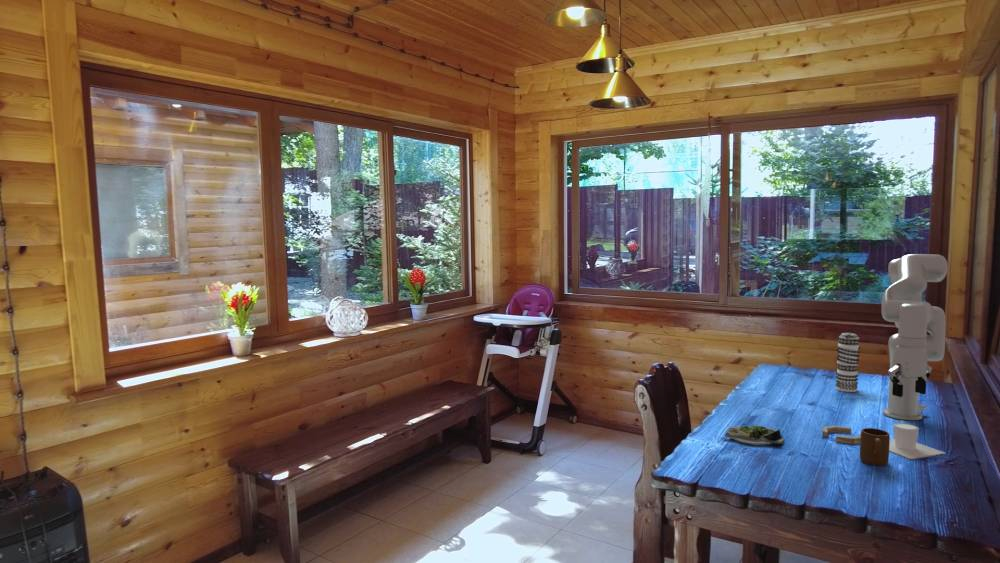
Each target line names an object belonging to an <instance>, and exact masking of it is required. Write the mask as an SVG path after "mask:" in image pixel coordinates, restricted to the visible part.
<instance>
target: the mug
mask: <svg viewBox="0 0 1000 563" xmlns="http://www.w3.org/2000/svg"><path fill="white" fill-rule="evenodd" d="M860 432H861V439H860V443H859V445H860V446H859V459H860V461H862V462H863V463H864V464H868V465H871V466H878V467H881V466H886V465H888V464H889V459H890V458H889V457H890V452H889V444H890V433H889V432H888V431H886V430H882V429H878V428H873V427H871V428H870V427H867V428H862V429H861V431H860Z"/></svg>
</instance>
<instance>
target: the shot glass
mask: <svg viewBox="0 0 1000 563" xmlns="http://www.w3.org/2000/svg"><path fill="white" fill-rule="evenodd" d="M919 429H920V428H919V427H918V426H917V425H914V424H909V423H901V422H900V423H894V424H893V436H894V438H893V439H895V446H896V447H897V448H900V449H903V450H915V449H916V444H917V443H918V438H919V437H918V436H919V431H920V430H919Z"/></svg>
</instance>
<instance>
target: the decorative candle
mask: <svg viewBox="0 0 1000 563" xmlns="http://www.w3.org/2000/svg"><path fill="white" fill-rule="evenodd" d="M859 339H860V337H859V336H858V335H857V334H856V333H851V332H842V333H841V334H840V335H839V336H838V344H837V345H836V352H837V353H836V360H837V361H836V363H837V371H836V374H835V375H836V376H835V377H836V380H835V386H836V387H835V389H836V390H838V391H840V392H845V393H846V392H847V393H854V392H858V384H859V383H858V381H859V380H858V379H859V378H858V377H859V375H858V366H859V361H860V359H859V357H861V355H860V353H861V351H859V349H861V346H859Z"/></svg>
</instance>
